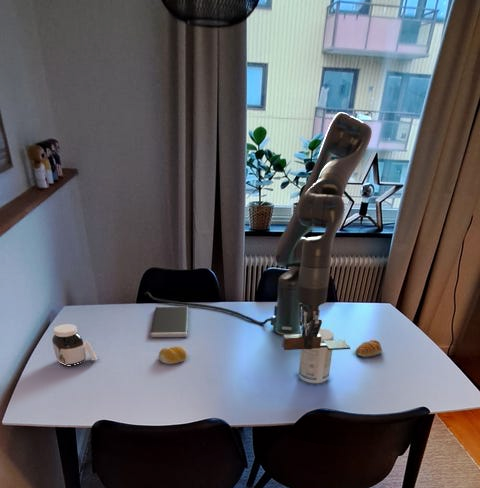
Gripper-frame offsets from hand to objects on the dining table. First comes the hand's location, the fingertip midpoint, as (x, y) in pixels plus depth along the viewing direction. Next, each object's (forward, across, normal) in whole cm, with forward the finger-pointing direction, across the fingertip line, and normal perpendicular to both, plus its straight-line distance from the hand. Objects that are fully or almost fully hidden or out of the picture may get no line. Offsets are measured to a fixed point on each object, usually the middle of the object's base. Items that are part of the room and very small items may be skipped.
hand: (306, 346), depth 129 cm
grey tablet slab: (+17, +61, +35) cm, 73 cm away
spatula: (0, 0, -2) cm, 3 cm away
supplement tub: (+17, +13, -7) cm, 23 cm away
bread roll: (+17, +31, +36) cm, 50 cm away
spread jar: (+17, +33, +66) cm, 76 cm away
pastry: (+17, +28, -31) cm, 45 cm away
